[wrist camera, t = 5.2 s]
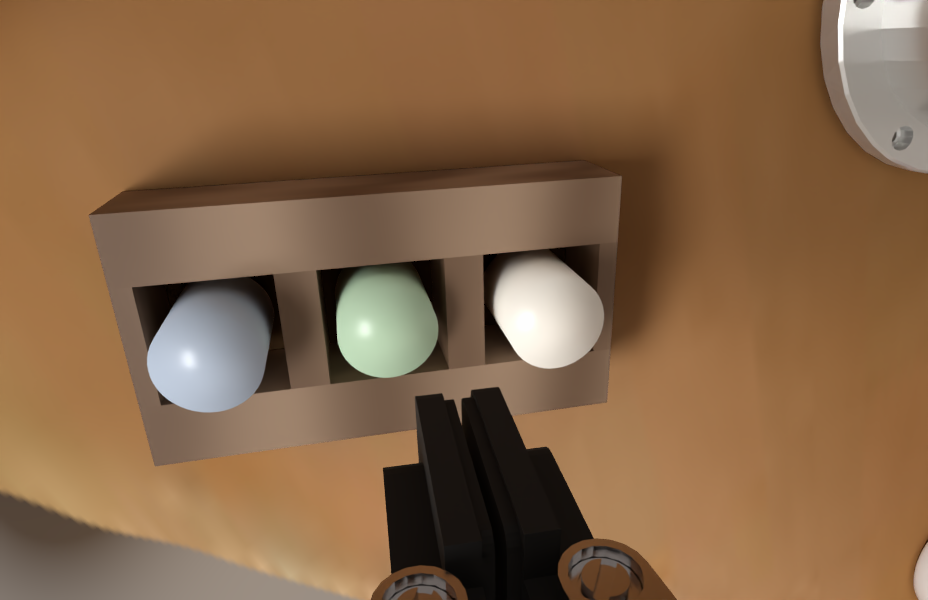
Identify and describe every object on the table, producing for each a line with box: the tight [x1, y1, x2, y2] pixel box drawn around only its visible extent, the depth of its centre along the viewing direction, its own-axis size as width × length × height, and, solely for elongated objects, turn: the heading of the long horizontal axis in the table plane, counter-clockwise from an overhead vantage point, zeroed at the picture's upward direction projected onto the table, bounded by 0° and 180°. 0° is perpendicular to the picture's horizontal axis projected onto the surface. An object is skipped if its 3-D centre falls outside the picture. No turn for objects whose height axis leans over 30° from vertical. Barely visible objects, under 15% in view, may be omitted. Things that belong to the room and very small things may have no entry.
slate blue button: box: [147, 277, 274, 412], centre depth 19 cm, size 3×3×4 cm
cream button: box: [483, 249, 604, 369], centre depth 20 cm, size 3×3×4 cm
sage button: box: [335, 262, 438, 378], centre depth 20 cm, size 3×3×4 cm
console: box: [89, 160, 622, 466], centre depth 21 cm, size 15×8×3 cm, turn 92°
